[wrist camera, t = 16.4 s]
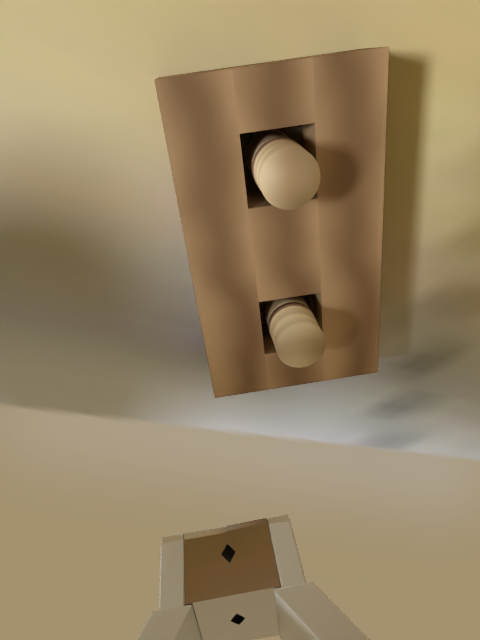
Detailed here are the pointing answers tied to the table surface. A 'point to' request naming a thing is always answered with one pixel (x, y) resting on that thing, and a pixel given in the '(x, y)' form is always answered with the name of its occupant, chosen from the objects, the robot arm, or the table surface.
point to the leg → (294, 331)
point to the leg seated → (282, 169)
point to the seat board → (282, 210)
